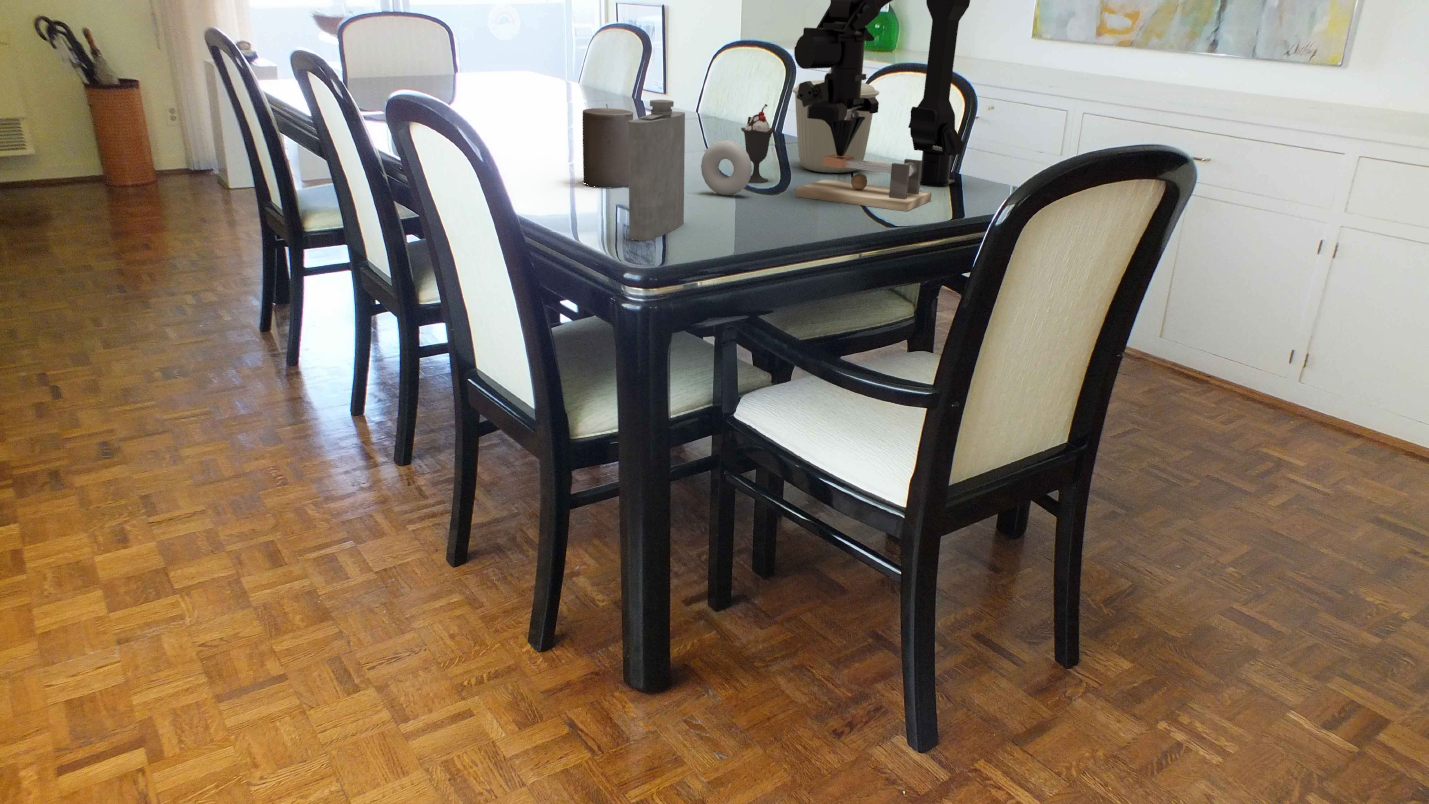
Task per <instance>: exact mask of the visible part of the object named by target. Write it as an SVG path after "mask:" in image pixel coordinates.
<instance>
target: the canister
mask: <svg viewBox="0 0 1429 804" xmlns="http://www.w3.org/2000/svg"><path fill="white" fill-rule="evenodd" d="M827 73H831V68H829V70H828V72H827ZM810 81H811V82H812V84H813V85H815V84H819V83H822V82H824V80H822V79H819V80H818V79H817V80H810ZM798 89H799V84H798V85H797V86H796V87H793V88H792V89H791V91H792V92H793V94H794V96H795V97H794V99H795V117H796V136H797V148H798V149H797V150H798V151H797V152H798V158H799V163H800V164H801V165H802V167H803V168H804V169H806V170H808V171H812V172H818V173H827V174H845V173H852V172H855V171H857V170H858V169H855V168H848V167H844V168H838V167H830V166H822V165H823V157H824V156H828V155H831V154H837V153H836V148H835V144H834V139H833V135H832V131H831V128H830V126H829V125H828V124H827V123H826V122H825V121H823V120H820V119H809V118H807V107H808V106H809V105H808V106H806V107H803V105H802V101H801V100H800V99H797V95H798V91H797V90H798ZM878 95H880V91H879V90H877V89H875V87H874V86H873V85H872V84H869V83H866V82H865V83H864V82H862V85H861V96H868V97H875V98H876V99H877V96H878ZM857 112H859V114H858V116H861V117H865V120H863V122H862V123H861V125H860V127H859V129H858V130H857V132H856V134H855V136H854V138H853V139H852V141H851V143H850V145H849V147H848V149H847V151H846V153H845V155H850V156H854V159H855V160H863V161H865V160H864V159H865V155H866V150H867V145H868V143H869V137H870V131H871V127H872V126H871V125H872V119H873V115H874V113H873V114H871V113H869V112H865V111H857Z"/></svg>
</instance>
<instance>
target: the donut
mask: <svg viewBox="0 0 1429 804" xmlns="http://www.w3.org/2000/svg"><path fill="white" fill-rule="evenodd" d="M723 160H729V161H730V163H731V164H732V166H733V172H732V173H731V175H730V176H725V175H723V174H722V173H721V170H720V163H721V162H722V161H723ZM700 163H701V164H700V169H701V176H702V178H703V180H704V183H705V184H706V185H707V187H709V189H711V191H713V192H715V193H716V194H720V195H723V196H734V195H735V194H737V193H740V192H742V191H743V190H744V188H745V187H747V186H748V184H749V183H750V182H749V180H750V178H751V175H752V173H753V169H752V168H753V167H752V161H751V160H750V158H749V155H748V153H747V152H746V148H744V147H743V146H742V145H740V143H737V142H736V141H732V140H729V139H726V140H718V141H716V142H714V143H711V145H710V146H709V147H708V148H707V149H706V150H705V151H704V153H703V156H702V158H701V162H700Z"/></svg>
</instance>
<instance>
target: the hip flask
mask: <svg viewBox="0 0 1429 804" xmlns="http://www.w3.org/2000/svg"><path fill="white" fill-rule="evenodd" d="M674 103H675V101H674V100H671V99H670V100H669V99H652V100H651V99H650V100H649V107H651V108H652V109H650V114H649V113H648V114H645V115H643V116H640V117H638V118H637V119H636V118H635V119H633V120H629V121H628V134H629V186H628V216H629V217H628V225H629V226H628V227H629V228H628V229H629V231H628V233H629V234H628V235H629V236H628V237H629V238H630V239H633V240H632V241H634V240H638V241H637V242H645V241H644V240H646V241H649V240H652V239H656V238H659V237H661V236H664V235H667V234H669V233H671V232H672V231H675V230H677V229H678V228H680V227H681V226H682V225H684V223H685V219H684V217H685V153H686V152H685V149H686V147H685V146H686V144H685V139H686V134H685V133H686V130H685V129H686V112H684V111H674V110H673V107H674ZM630 239H629V240H630Z"/></svg>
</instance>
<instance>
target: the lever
mask: <svg viewBox="0 0 1429 804" xmlns="http://www.w3.org/2000/svg"><path fill="white" fill-rule="evenodd" d="M906 164H908V165H910V169H909V177H910V176H912V175H914V174H916V172H917V166H916V164H915V163H913V162H909V163H906ZM822 166H830V167H838V168H844V167H848V168H855V169H857V170H863V171H865V170H866V171H873V172H879V173H887V174H891V168H892V163H884V162H879V161H869V160H855V159H854V156H850V155H844V156H837V154H831V155H828V156H824V157H823V165H822Z"/></svg>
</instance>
